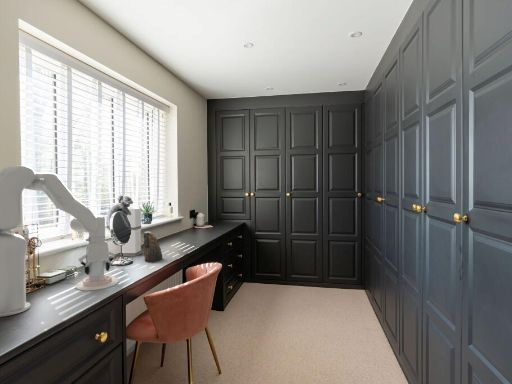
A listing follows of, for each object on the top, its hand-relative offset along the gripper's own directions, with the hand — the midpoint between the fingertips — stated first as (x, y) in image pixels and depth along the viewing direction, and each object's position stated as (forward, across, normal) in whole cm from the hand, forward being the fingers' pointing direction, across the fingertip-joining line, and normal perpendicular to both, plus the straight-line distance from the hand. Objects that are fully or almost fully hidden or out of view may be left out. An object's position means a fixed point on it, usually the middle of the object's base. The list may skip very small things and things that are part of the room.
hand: (97, 272), depth 157 cm
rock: (+6, +44, +30) cm, 54 cm away
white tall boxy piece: (+6, +40, +59) cm, 72 cm away
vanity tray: (+6, 0, 0) cm, 6 cm away
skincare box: (+6, -1, 0) cm, 6 cm away
